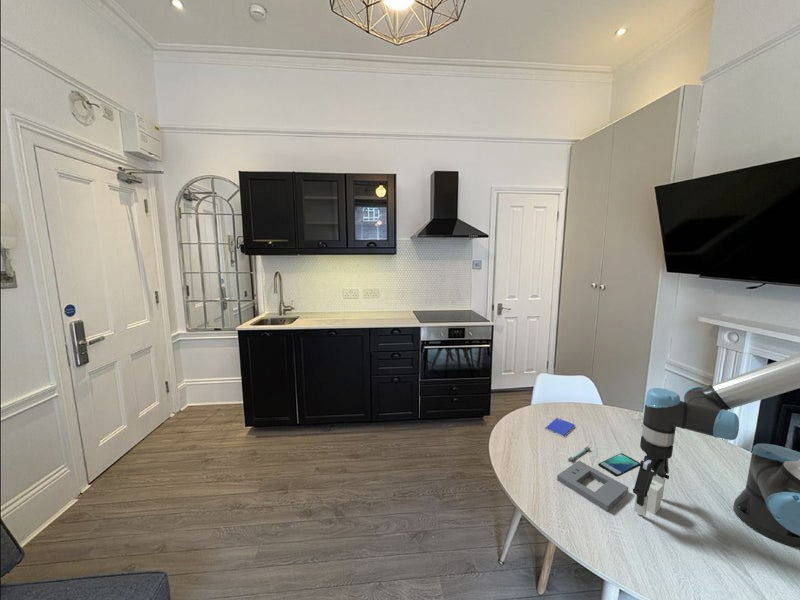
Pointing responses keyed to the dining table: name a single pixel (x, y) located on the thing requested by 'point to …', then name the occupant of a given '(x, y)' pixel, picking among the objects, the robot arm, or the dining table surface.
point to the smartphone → (619, 464)
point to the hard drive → (560, 427)
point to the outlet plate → (601, 497)
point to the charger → (654, 497)
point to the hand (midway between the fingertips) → (648, 503)
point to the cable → (578, 454)
